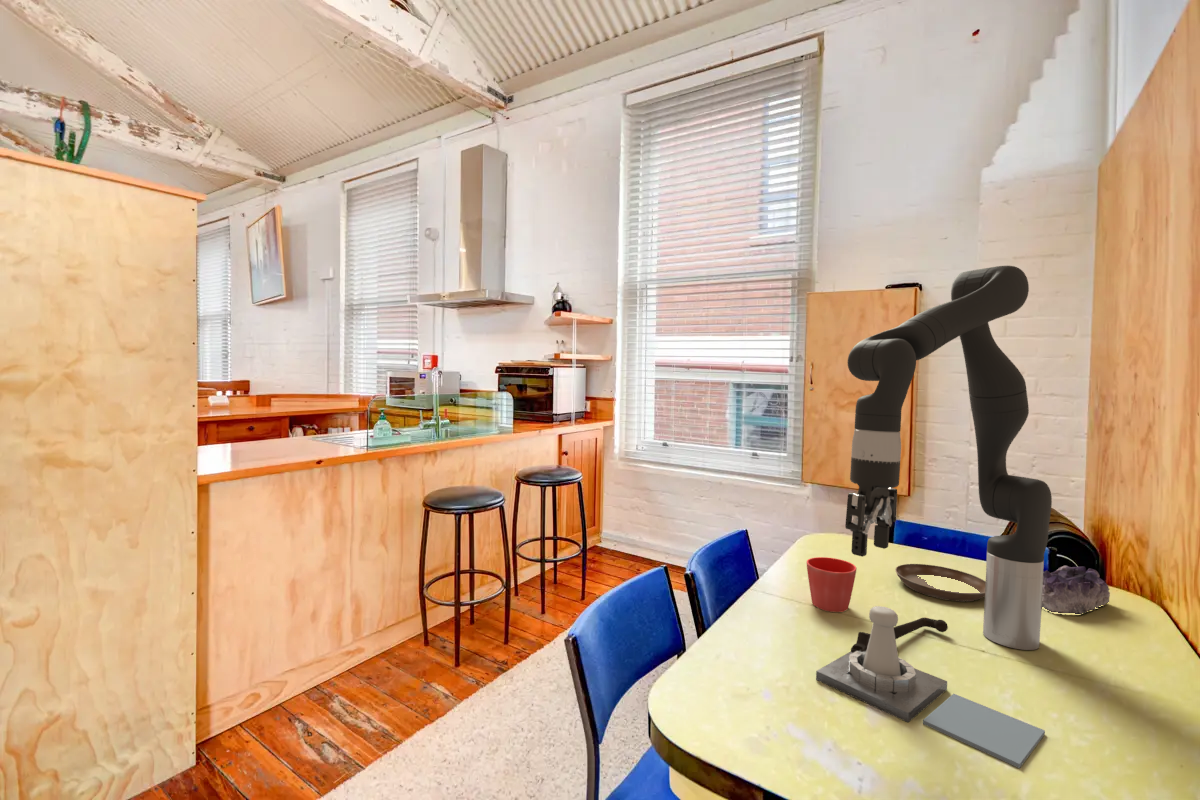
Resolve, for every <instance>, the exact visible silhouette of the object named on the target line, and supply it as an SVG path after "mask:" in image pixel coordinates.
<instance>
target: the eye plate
mask: <svg viewBox="0 0 1200 800" xmlns="http://www.w3.org/2000/svg"><path fill="white" fill-rule="evenodd" d="M865 654H866V651H864V652H859V651H855V652H854V653H852V652H851V650H850V651H849V652H847V653H845V654H843V655H842V656H840V657H838V658H836V659H834V660H833V661H831V662H829V663H828V664H826V665H824V666H822V667H821V668H819V669H817V670H816V672H815V680H816V681H818V682H820V683H822V684H825V685H827V686H829V687H831V688H834V689H836V690H837V691H840V692H842V693H845V695H848V696H851V697H853V698H854V699H856V700H859V701H861V702H864V703H865V704H868V705H870V706H872V707H874V708H877V709H878V710H880V711H883V712H884V713H887V714H889V715H891V716H894V717H896V718H897V719H899V720H902V721H904V722H906V723H909V722H911V721H912V720H913V719H914V718H916V717H917V716H918V715H919V714H920V713H921V712H923V711H924V710H925V709H926V708H927V707H928V706H930V705H931V704H932V703H933V702H934V701H936V700H937V699H938V698H939V697H940V696H942V695H943V694H944V693H945V692H947V690H948V680H946V679H943V678H940V677H937V676H935V675H933V674H930V673H928V672H925V671H922V670H920V669H917V668H915V667H914V666H913V665H912V664H910V663H909V662H907V661H906V660H905V659H903V658H901V657H899V656H898V659H899V665H900V672H901V676H886V675H881V674H876V673H874V672H872V671H869V670H867V669H865V668H864V667H862V666H863V662H864V658H865Z"/></svg>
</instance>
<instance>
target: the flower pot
mask: <svg viewBox="0 0 1200 800" xmlns="http://www.w3.org/2000/svg"><path fill="white" fill-rule="evenodd" d="M806 571H807V576H808V578H807V580H808V587H809V593H810V598H811V603H812V605H813V606H814V607H816V608H817V609H819V610H822V611H825V612H831V613H843V612H846V611H847V610H849V606H850V602H851V599H852V595H853V589H854V585H855V579H856V574H857V567H856V565H855V564H854V563H852V562H850V561H846V560H843V559H841V558H835V557H834V558H833V557H825V556H821V557H818V556H817V557H811V558H809V559H807V560H806Z"/></svg>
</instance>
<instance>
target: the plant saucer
mask: <svg viewBox="0 0 1200 800" xmlns="http://www.w3.org/2000/svg"><path fill="white" fill-rule="evenodd" d="M895 573H896V574H897V577H898V578H899V579H900V581H901V582H902V583H903V584H904V585H905V586H906V587H907V588H909V589H911V590H912V589H913V590H912V591H914V590H915V592H916V593H919V594H921V593H922V595H924V594H925V596H927V595H928V597H931V596H932V598H935V597H936V598H935V599H939V598H941V600H944V599H946V600H945V601H950V600H953V601H952V602H965V601H966V602H973V601H974V600H975V601H977V600H980V599H982V598H985V584H986V580H985V579H982V578H980V577H978V576H976V575H973V574H971V573H968V572H965V571H962V570H958V569H954V568H950V567H949V568H948V567H944V566H938V565H933V564H925V563H924V564H923V563H906V564H900V565H898V566H896V567H895ZM917 575H934V576H941V577H947V578H951V579H955V580H958V581H961V582H964V583H966V584H968V585H970V586H972V587H974V588H975V589H977V590H978V591H979V592H980V593H959V592H951V591H945V590H940V589H936V588H934V587H933V586H930V585H928V584H927V582H925V581H926V580H924V579H921V577H919V576H917ZM918 577H919V578H918Z"/></svg>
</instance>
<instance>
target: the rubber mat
mask: <svg viewBox="0 0 1200 800" xmlns="http://www.w3.org/2000/svg"><path fill="white" fill-rule="evenodd" d="M922 724H923V725H924V726H927V727H928V728H932V729H934V730H935V731H938V732H939V733H942V734H944V735H947V736H948V737H951V738H953V739H955V740H957V741H959V742H962V743H964V744H966V745H968V746H970V747H972V748H975V749H976V750H979V751H981V752H983V753H985V754H988V755H989V756H992V757H994V758H995V759H998V760H999V761H1003V762H1005V763H1006V764H1009V765H1011V766H1013V767H1015V768H1018V769H1020V768H1021V767H1022V766H1023V764H1024V763H1025V762H1026V761H1027V760H1028V757H1030V755H1031V754H1032V753H1033V751H1034V750H1035V749H1036V747H1037V746H1038V745H1039V743H1040V741H1041V740H1042V739H1043V737H1044V736H1045V735H1046V730H1045V729H1043V728H1040V727H1037V726H1035V725H1033V724H1030V723H1028V722H1025V721H1022V720H1020V719H1018V718H1015V717H1013V716H1010V715H1008V714H1006V713H1003V712H1000V711H998V710H996V709H993V708H990V707H988V706H986V705H984V704H981V703H979V702H975V701H974V700H971V699H968V698H965V697H963V696H960V695H958V694H956V693H953V694H951V695H950V696H949V697H948V698H947V699H945V700H944V701H943V702H942V703H941V704H940V705H938V706H937V708H935V709H934V710H932V712H930V713H929V714H928V715H927V716H926V717H924V719H922Z"/></svg>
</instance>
